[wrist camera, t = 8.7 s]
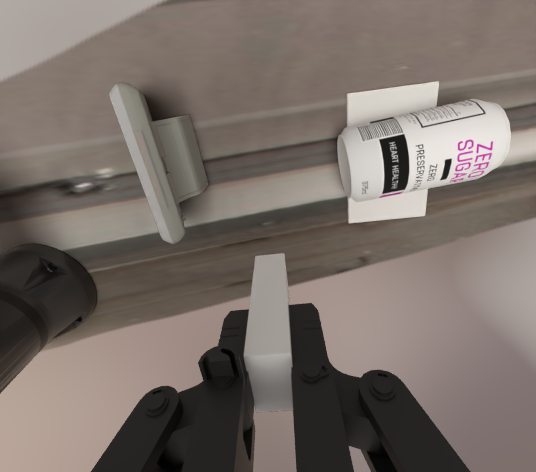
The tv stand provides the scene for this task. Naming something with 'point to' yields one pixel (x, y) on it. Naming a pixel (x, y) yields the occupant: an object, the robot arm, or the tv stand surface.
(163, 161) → the digital clock
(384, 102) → the mat
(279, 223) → the tv stand surface
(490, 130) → the supplement can
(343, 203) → the tv stand surface
